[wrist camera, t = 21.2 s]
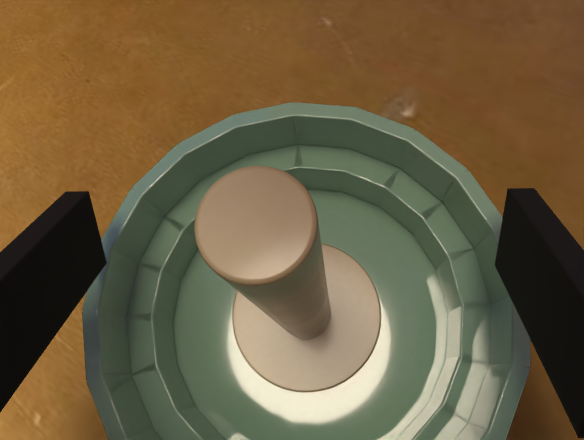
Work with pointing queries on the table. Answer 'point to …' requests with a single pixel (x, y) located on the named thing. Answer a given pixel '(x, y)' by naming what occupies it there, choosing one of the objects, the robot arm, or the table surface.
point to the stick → (287, 281)
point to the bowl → (333, 231)
